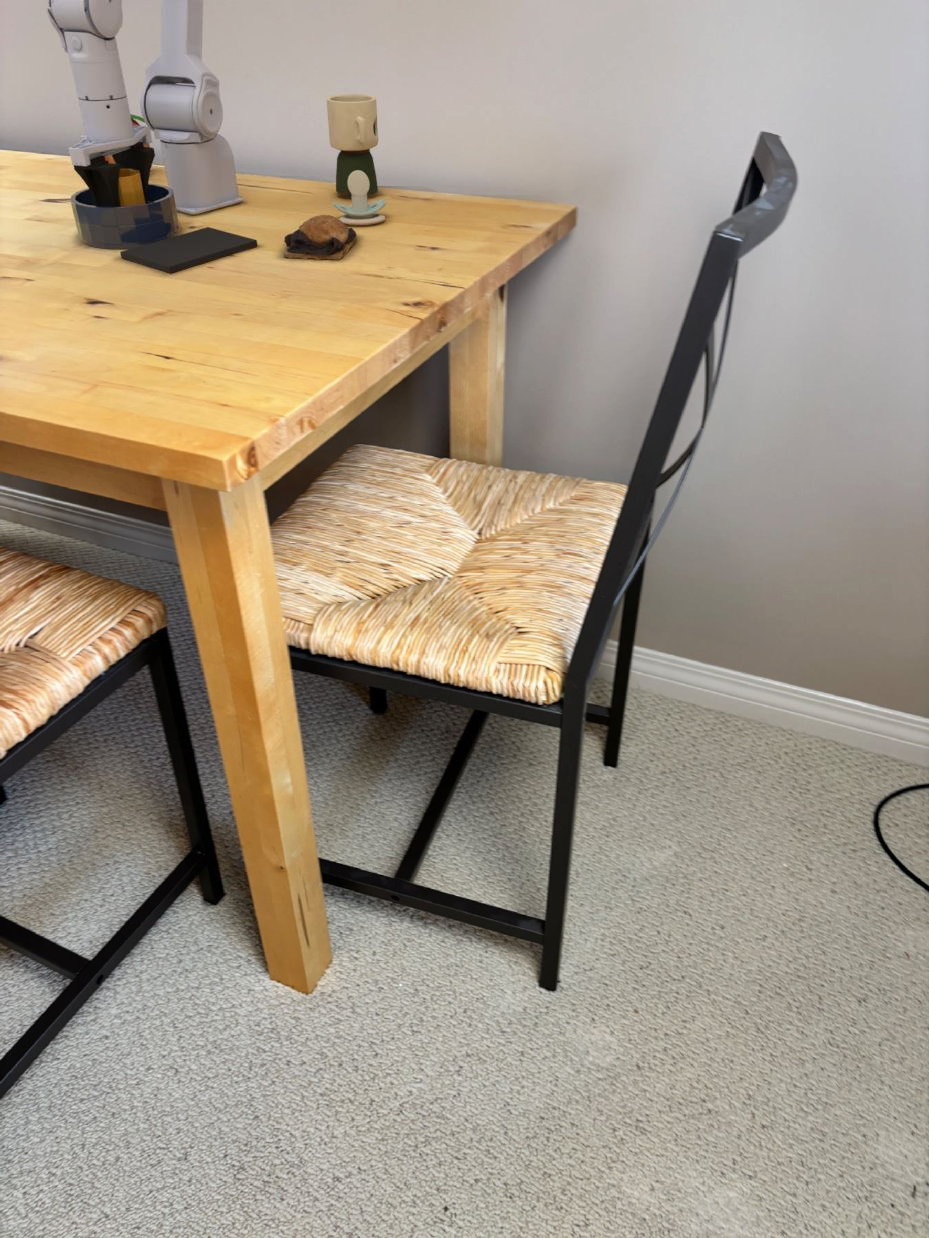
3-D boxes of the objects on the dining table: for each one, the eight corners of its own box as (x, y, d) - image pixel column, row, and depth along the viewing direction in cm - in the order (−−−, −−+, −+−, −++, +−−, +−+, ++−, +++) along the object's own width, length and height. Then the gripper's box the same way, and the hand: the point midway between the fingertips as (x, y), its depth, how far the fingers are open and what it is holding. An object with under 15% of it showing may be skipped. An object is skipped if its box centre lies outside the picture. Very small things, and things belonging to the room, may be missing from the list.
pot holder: (209, 233, 125) (208, 227, 125) (257, 246, 121) (256, 240, 120) (121, 258, 117) (119, 251, 116) (170, 273, 112) (169, 266, 112)
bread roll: (301, 234, 126) (298, 205, 123) (362, 237, 125) (360, 207, 122) (277, 258, 117) (273, 227, 115) (343, 261, 116) (340, 230, 114)
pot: (140, 216, 132) (132, 178, 129) (200, 232, 126) (193, 193, 123) (60, 237, 124) (50, 196, 121) (119, 255, 118) (110, 213, 114)
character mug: (390, 202, 139) (386, 103, 131) (344, 206, 136) (337, 106, 128) (369, 185, 146) (364, 90, 139) (325, 189, 144) (317, 93, 136)
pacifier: (390, 226, 129) (383, 213, 133) (389, 178, 125) (382, 166, 129) (337, 229, 128) (332, 216, 132) (334, 180, 124) (329, 168, 128)
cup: (133, 222, 127) (122, 166, 123) (159, 229, 125) (148, 172, 120) (100, 231, 124) (87, 173, 120) (125, 238, 121) (113, 180, 117)
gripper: (109, 86, 121) (131, 198, 129) (36, 105, 110) (66, 226, 119) (156, 89, 119) (176, 202, 128) (88, 108, 109) (114, 231, 117)
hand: (126, 214), depth 123 cm, fingers closed on cup, 5 cm apart
